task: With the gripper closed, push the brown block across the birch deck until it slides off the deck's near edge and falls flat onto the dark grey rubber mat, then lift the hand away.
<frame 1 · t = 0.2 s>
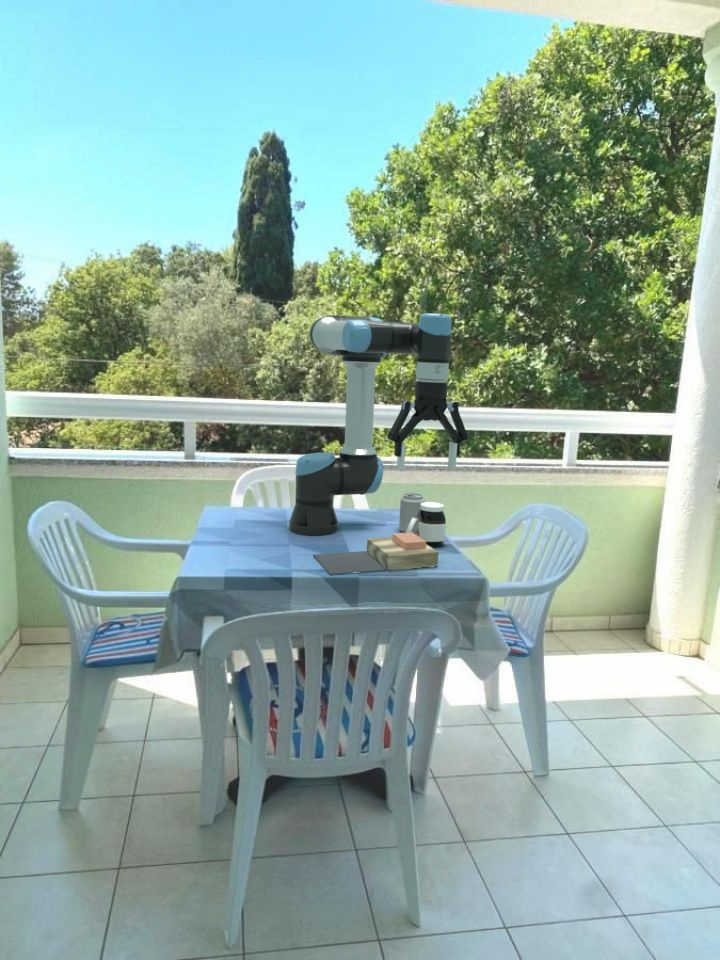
hand: (426, 469, 163), 28 cm above the table, tool pointing down, fingers open, 13 cm apart
spread jar: (422, 542, 200), on the table
mat: (348, 563, 177), on the table
can: (410, 532, 210), on the table
deck: (401, 559, 182), on the table
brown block: (408, 544, 182), point 4 cm above the table, touching deck
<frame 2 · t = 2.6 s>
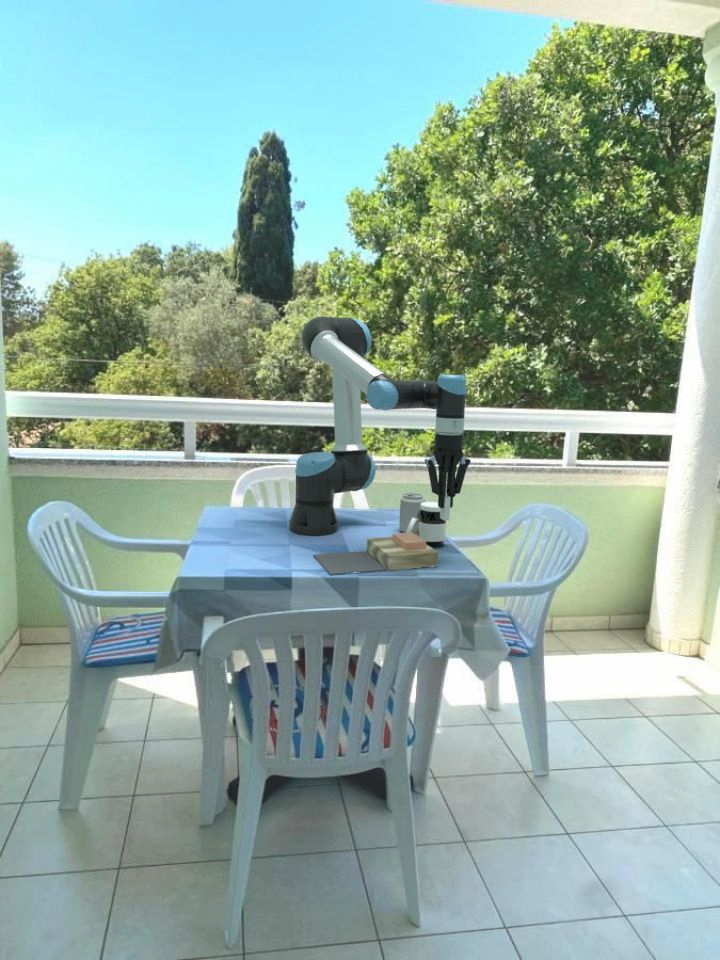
hand: (444, 519, 184), 11 cm above the table, tool pointing down, fingers closed
nothing on the table moved.
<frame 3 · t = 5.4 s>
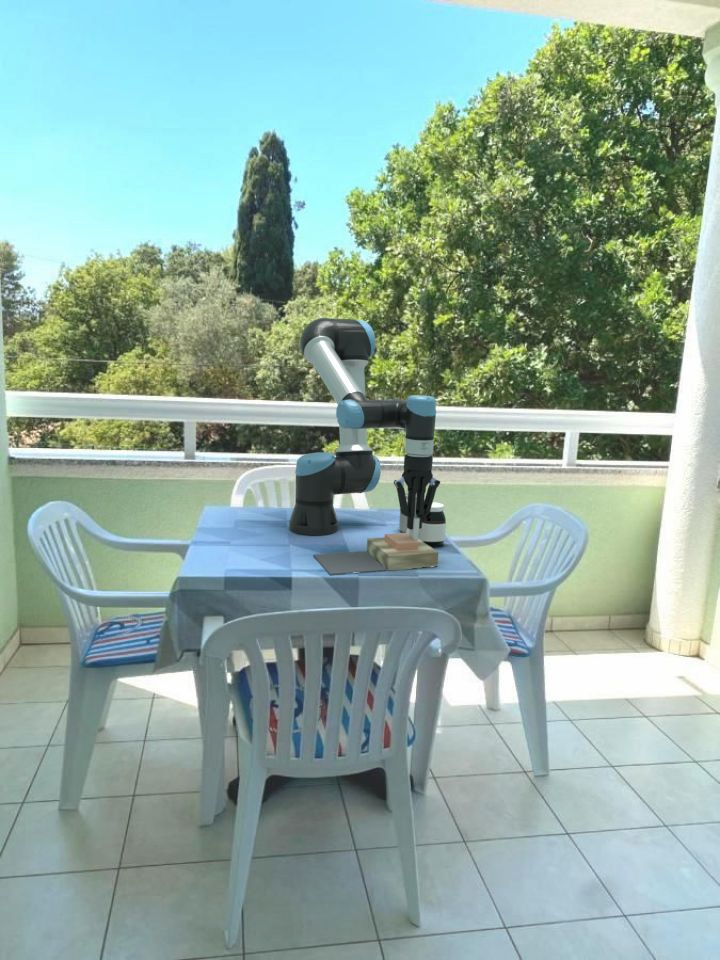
hand: (413, 540, 183), 5 cm above the table, tool pointing down, fingers closed
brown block: (401, 545, 182), point 4 cm above the table, touching gripper
everything else where it was.
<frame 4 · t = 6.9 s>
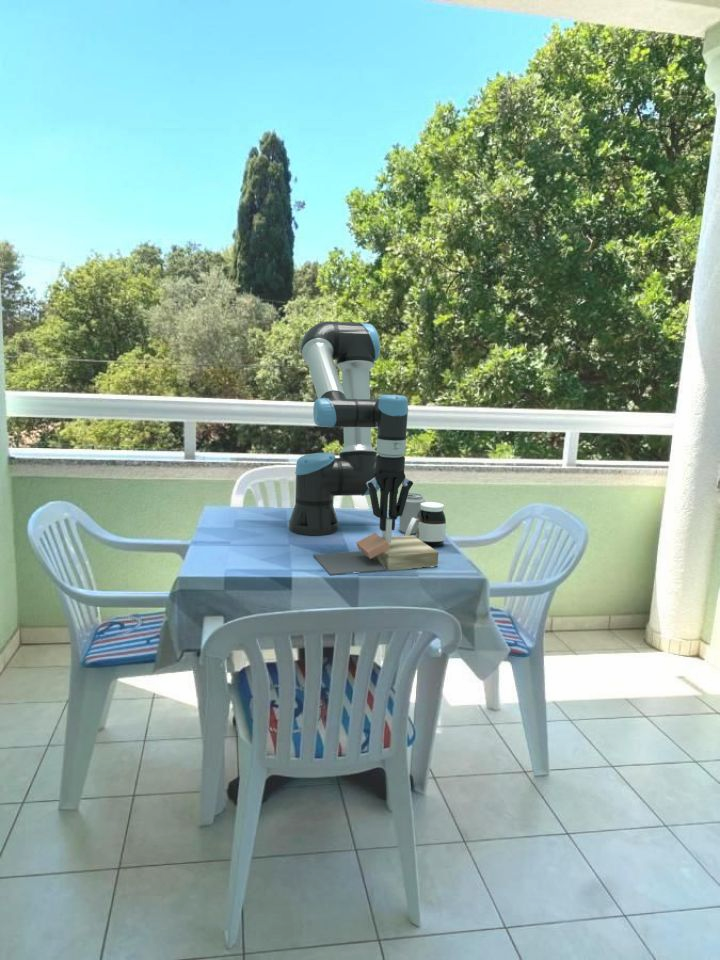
hand: (386, 541, 180), 5 cm above the table, tool pointing down, fingers closed
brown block: (374, 548, 179), point 4 cm above the table, tilted 24°
everything else where it was.
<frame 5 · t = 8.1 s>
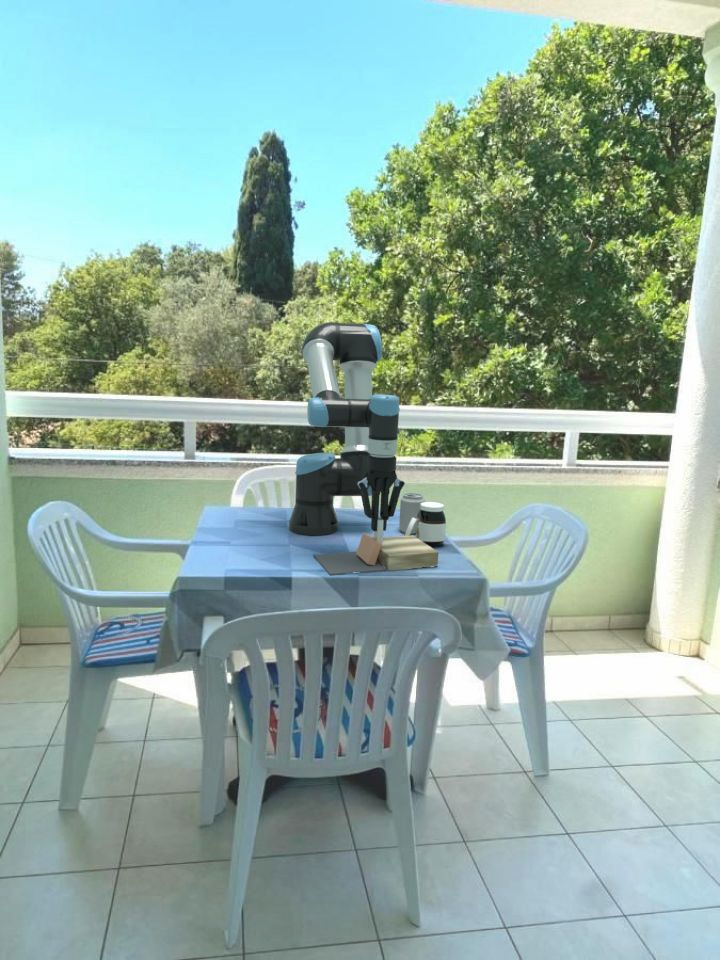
hand: (377, 542, 179), 5 cm above the table, tool pointing down, fingers closed
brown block: (372, 549, 179), point 3 cm above the table, tilted 73°, touching mat
everything else where it was.
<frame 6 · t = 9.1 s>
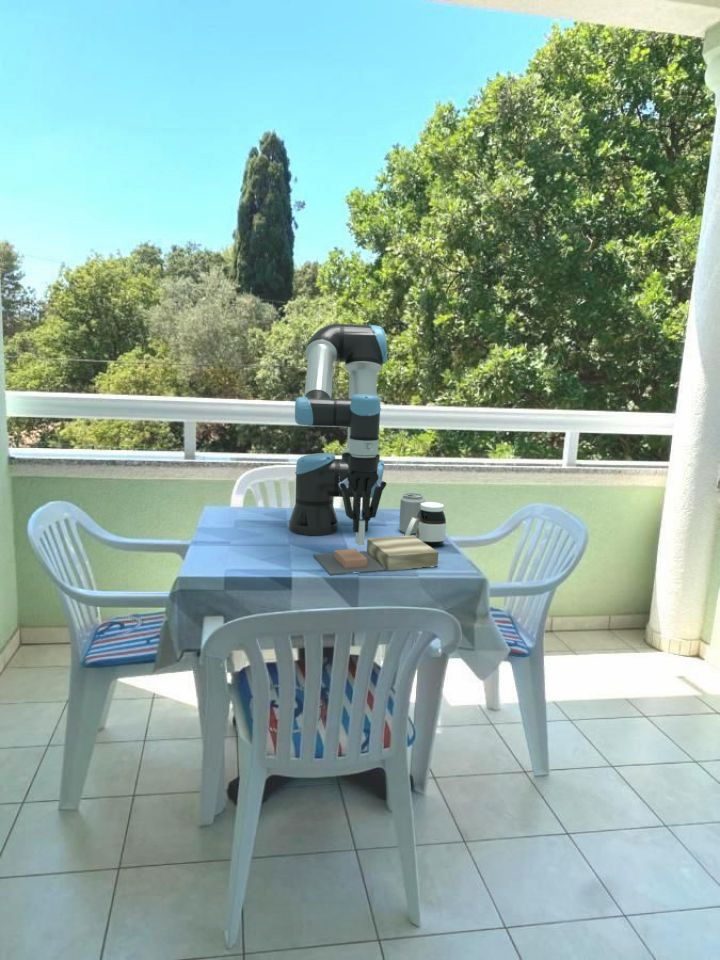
hand: (359, 543, 177), 5 cm above the table, tool pointing down, fingers closed
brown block: (350, 554, 177), point 2 cm above the table, tilted 180°, touching mat
everything else where it was.
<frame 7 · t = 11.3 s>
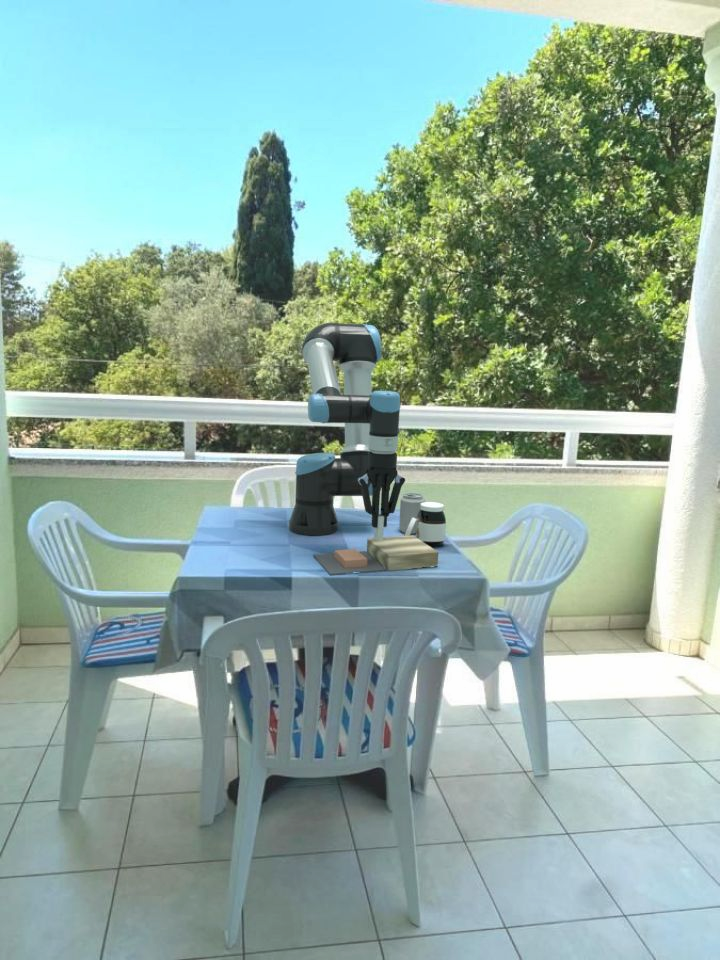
hand: (378, 538, 179), 6 cm above the table, tool pointing down, fingers closed
nothing on the table moved.
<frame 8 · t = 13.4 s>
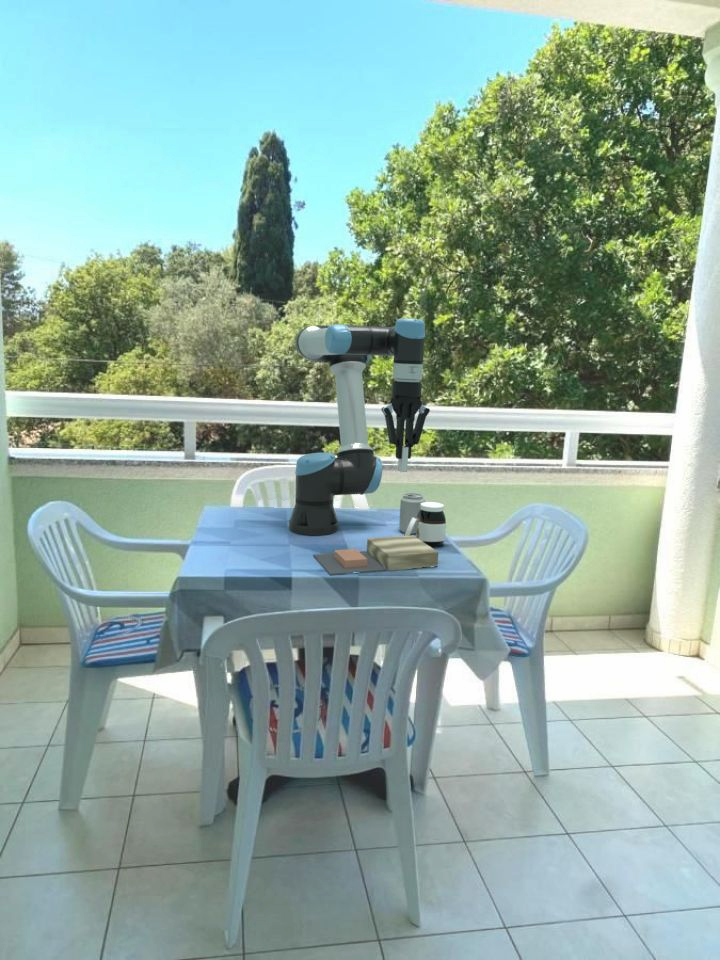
hand: (402, 470, 177), 24 cm above the table, tool pointing down, fingers closed
nothing on the table moved.
at the end: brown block point 2.4 cm above the table; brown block inside the target area on the mat (0.4 cm from its centre), point 2.4 cm above the mat's base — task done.
